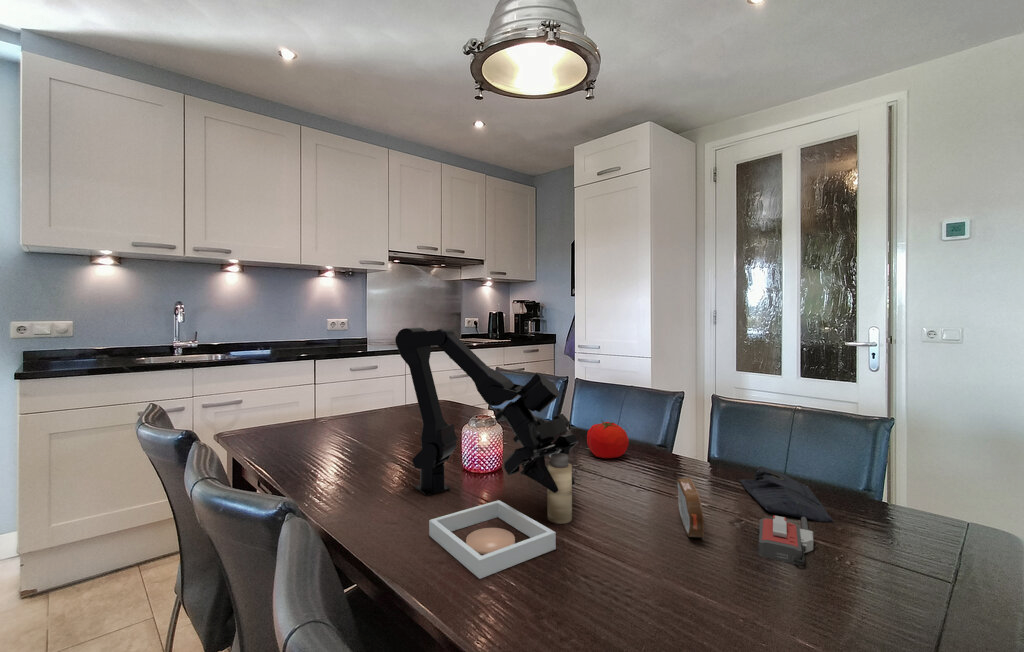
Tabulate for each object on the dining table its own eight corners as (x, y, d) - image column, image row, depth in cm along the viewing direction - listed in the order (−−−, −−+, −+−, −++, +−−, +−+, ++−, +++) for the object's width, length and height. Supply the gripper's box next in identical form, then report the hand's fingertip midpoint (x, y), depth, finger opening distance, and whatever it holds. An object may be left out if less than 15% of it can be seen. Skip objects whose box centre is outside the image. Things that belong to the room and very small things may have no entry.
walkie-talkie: (818, 575, 75) (810, 526, 93) (818, 548, 75) (810, 504, 92) (756, 561, 80) (760, 516, 97) (757, 535, 79) (760, 495, 97)
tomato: (594, 448, 145) (594, 415, 145) (634, 455, 138) (634, 421, 138) (578, 457, 136) (578, 422, 136) (619, 465, 129) (619, 428, 129)
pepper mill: (542, 517, 96) (542, 454, 96) (560, 511, 99) (560, 450, 99) (558, 525, 92) (558, 460, 92) (576, 519, 95) (577, 456, 95)
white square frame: (429, 535, 88) (429, 520, 88) (498, 514, 98) (498, 500, 98) (479, 578, 74) (479, 560, 74) (555, 548, 83) (555, 532, 83)
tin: (705, 546, 84) (705, 500, 84) (687, 544, 85) (687, 499, 84) (690, 511, 99) (690, 472, 99) (675, 510, 99) (675, 471, 99)
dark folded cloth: (753, 517, 97) (754, 494, 97) (738, 481, 118) (738, 462, 118) (839, 527, 92) (839, 503, 92) (807, 488, 113) (807, 468, 113)
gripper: (514, 409, 91) (558, 479, 84) (571, 397, 105) (614, 456, 97) (486, 441, 97) (526, 509, 89) (544, 426, 110) (583, 484, 103)
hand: (565, 488), depth 95 cm, fingers closed on pepper mill, 5 cm apart
